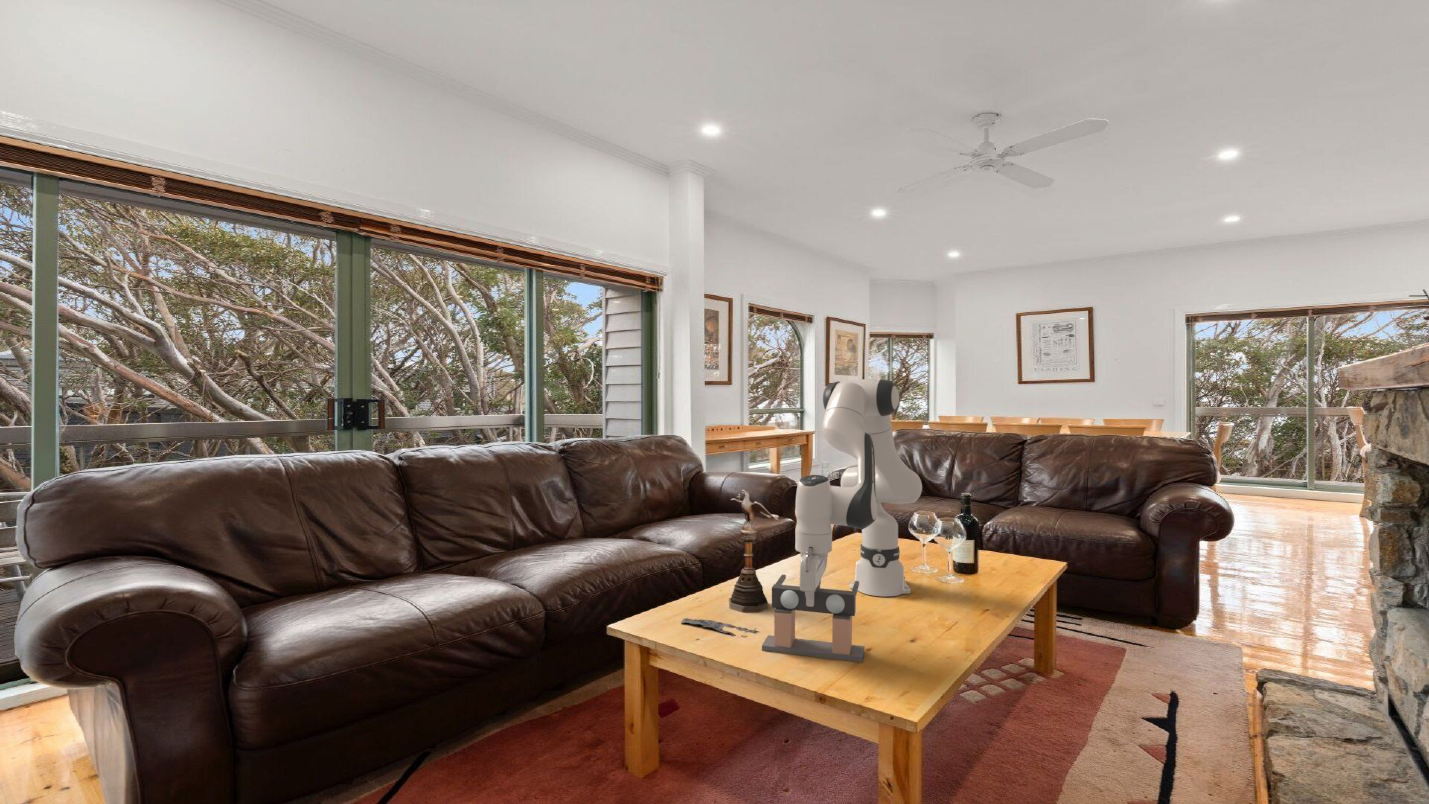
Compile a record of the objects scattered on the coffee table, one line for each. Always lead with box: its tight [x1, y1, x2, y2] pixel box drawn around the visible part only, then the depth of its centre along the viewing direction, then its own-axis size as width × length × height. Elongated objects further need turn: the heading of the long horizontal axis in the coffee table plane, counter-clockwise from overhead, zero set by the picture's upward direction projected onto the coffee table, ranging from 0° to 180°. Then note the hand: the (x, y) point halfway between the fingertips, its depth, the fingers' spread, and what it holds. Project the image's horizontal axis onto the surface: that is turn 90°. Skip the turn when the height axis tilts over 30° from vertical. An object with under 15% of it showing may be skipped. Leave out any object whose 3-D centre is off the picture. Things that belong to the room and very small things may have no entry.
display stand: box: [761, 608, 866, 663], centre depth 160 cm, size 7×24×10 cm, turn 73°
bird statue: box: [728, 481, 780, 613], centre depth 195 cm, size 17×13×35 cm
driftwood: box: [680, 617, 758, 638], centre depth 175 cm, size 21×7×2 cm, turn 57°
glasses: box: [771, 574, 859, 617], centre depth 164 cm, size 14×20×5 cm
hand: (813, 599), depth 159 cm, fingers open, 8 cm apart
